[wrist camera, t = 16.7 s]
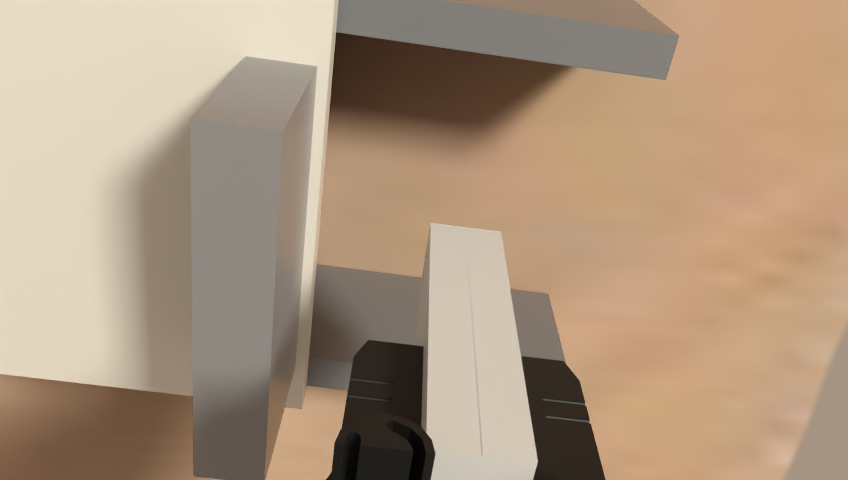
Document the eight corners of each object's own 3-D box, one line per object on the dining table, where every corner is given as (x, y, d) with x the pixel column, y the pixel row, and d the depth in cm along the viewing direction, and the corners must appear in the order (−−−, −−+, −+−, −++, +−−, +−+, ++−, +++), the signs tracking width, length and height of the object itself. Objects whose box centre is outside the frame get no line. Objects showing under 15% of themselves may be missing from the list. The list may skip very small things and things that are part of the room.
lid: (-61, 346, 20) (-193, 480, 16) (-151, -80, 15) (-380, -50, 11) (306, 389, 21) (273, 530, 16) (339, -8, 16) (303, 48, 11)
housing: (-290, 226, 24) (-449, 310, 20) (-438, -188, 19) (-705, -198, 14) (539, 329, 26) (560, 428, 22) (631, -24, 20) (686, 12, 16)
